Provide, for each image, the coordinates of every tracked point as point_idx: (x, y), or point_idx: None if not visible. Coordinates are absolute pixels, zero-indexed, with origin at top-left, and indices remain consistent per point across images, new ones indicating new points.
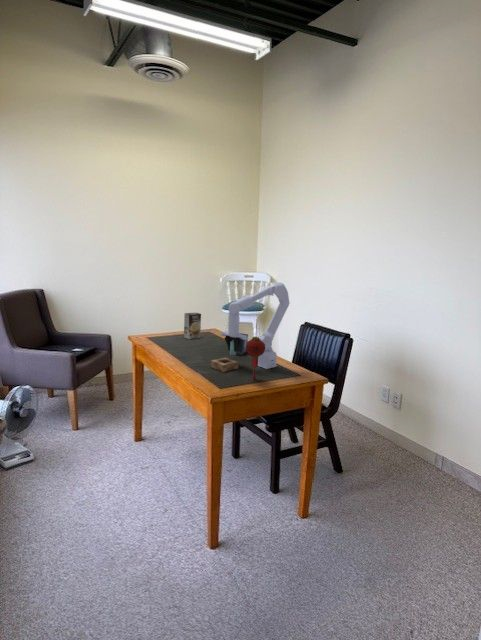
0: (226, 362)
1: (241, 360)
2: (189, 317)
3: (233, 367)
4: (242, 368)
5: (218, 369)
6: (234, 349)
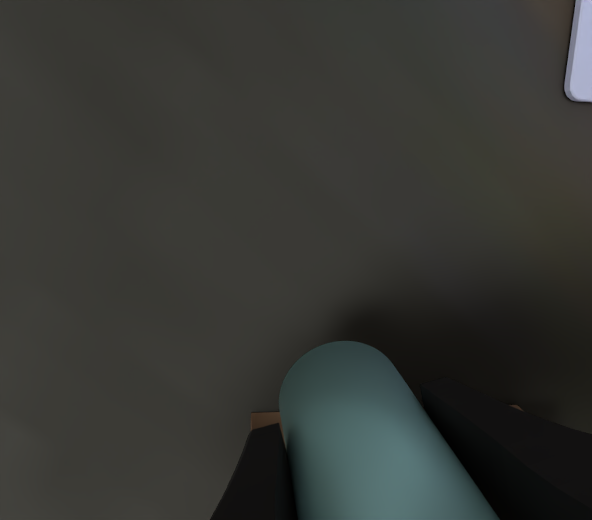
0: None
1: (263, 87)
2: None
3: None
4: (552, 355)
5: None
6: None
